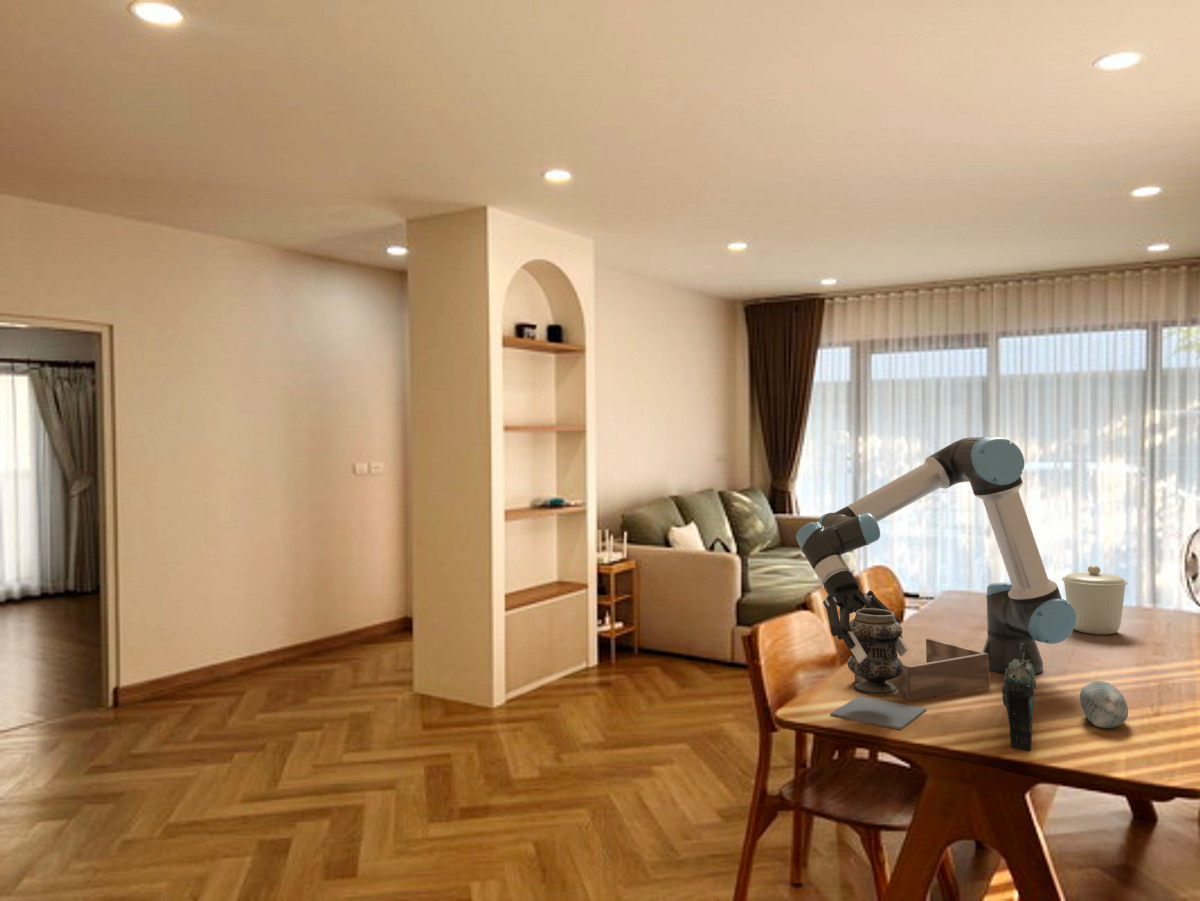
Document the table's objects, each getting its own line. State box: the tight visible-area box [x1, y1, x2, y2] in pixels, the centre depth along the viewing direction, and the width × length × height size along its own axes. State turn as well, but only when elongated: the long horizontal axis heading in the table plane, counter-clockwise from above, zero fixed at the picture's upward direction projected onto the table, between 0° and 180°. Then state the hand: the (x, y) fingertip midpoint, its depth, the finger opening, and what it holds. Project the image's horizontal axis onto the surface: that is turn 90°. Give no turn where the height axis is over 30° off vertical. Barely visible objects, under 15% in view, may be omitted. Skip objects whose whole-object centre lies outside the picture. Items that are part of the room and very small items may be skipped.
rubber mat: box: [830, 695, 927, 730], centre depth 190 cm, size 16×16×1 cm
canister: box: [1061, 564, 1129, 636], centre depth 265 cm, size 18×18×21 cm
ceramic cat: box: [1001, 643, 1037, 752], centre depth 173 cm, size 20×6×20 cm, turn 151°
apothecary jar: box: [847, 607, 903, 697], centre depth 190 cm, size 12×12×18 cm
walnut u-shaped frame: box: [854, 637, 990, 702], centre depth 212 cm, size 19×26×8 cm
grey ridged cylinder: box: [1079, 680, 1129, 729], centre depth 181 cm, size 14×10×10 cm
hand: (884, 656), depth 187 cm, fingers closed on apothecary jar, 12 cm apart
